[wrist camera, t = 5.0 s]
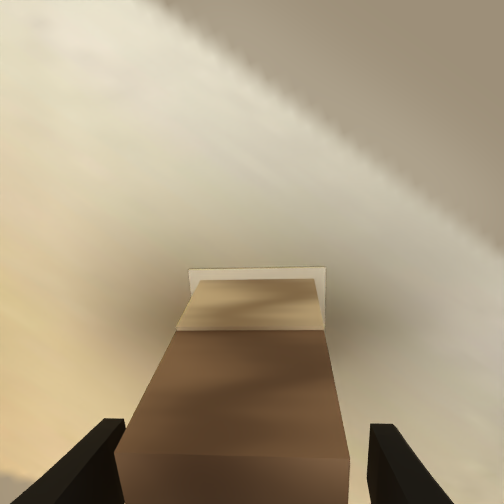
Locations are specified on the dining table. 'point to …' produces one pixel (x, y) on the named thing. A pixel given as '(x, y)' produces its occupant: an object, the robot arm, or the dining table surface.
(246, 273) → the cream tile
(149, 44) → the dining table surface
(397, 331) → the dining table surface
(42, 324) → the dining table surface
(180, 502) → the walnut block
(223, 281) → the maple base
